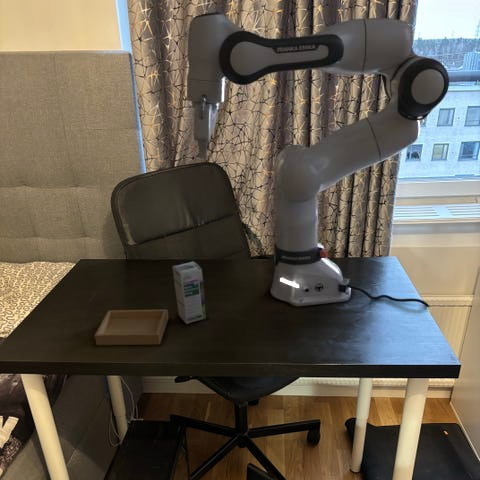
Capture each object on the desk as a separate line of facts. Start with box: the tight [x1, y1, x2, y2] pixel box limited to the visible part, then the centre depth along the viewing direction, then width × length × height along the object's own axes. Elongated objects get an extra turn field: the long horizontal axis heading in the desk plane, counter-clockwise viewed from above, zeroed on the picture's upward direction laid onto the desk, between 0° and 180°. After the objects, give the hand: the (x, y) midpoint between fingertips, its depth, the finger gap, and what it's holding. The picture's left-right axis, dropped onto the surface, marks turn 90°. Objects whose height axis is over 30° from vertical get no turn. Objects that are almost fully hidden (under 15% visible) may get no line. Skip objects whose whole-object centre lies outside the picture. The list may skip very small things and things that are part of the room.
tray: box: [94, 309, 169, 346], centre depth 125 cm, size 16×13×3 cm
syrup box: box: [172, 261, 207, 325], centre depth 127 cm, size 6×6×14 cm
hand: (204, 153), depth 123 cm, fingers open, 8 cm apart
